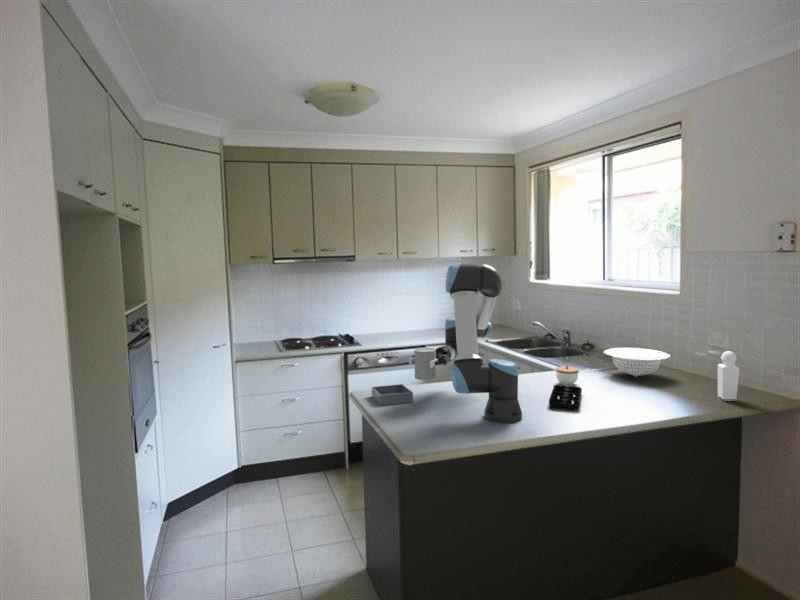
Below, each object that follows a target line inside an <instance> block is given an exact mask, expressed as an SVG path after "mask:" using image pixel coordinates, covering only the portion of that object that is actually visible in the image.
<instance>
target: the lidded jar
mask: <svg viewBox="0 0 800 600" xmlns="http://www.w3.org/2000/svg"><path fill="white" fill-rule="evenodd" d="M555 371H556V373H555V374H556V375H555V376H556V379H557V381H558V382H559V383H560V385H561V386H573V385H574V384H575V383H576V382H577V380H578V376H579V369H578V368H577V367H574V366H569V365H566V366H558V367H556V368H555Z"/></svg>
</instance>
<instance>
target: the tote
mask: <svg viewBox="0 0 800 600" xmlns="http://www.w3.org/2000/svg"><path fill="white" fill-rule="evenodd" d="M371 397H372V399H373V400H374V401H375V402H376V403H378V405H379V406H387V405H397V404H407V403H414V392H413V391H412V390H411V389H409V388H408V387H407V386H406V385H404V383H400V384H399V383H397V384H389V385H380V386H377V385H376V386H371Z"/></svg>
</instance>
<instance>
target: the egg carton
mask: <svg viewBox="0 0 800 600" xmlns="http://www.w3.org/2000/svg"><path fill="white" fill-rule="evenodd" d="M582 391H583V389H582V387H579V386H572V385H570V386H567V385H561V384H560V385H559V384H557V385H553V388H552V391H551V393H550V397H549V400H548V404H549V409H551V410H562V409H563V410H566V411H569V412H570V411H571V412H577V411H579V407H580V406H581V396H582Z"/></svg>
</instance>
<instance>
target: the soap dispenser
mask: <svg viewBox="0 0 800 600" xmlns="http://www.w3.org/2000/svg"><path fill="white" fill-rule="evenodd" d="M736 355H737V354H735V352H733V351H730V350H727V351H724V352H723V353H722V354H721V356H720V359H721V362H722V363H718V364H717V397H718V396H719V397H721V398H722V399H736V400H737V396H738V386H739V377H740V376H739V375H740V367H739V366H738V365H735V364H736V361H737V360H738V359H737V356H736Z"/></svg>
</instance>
